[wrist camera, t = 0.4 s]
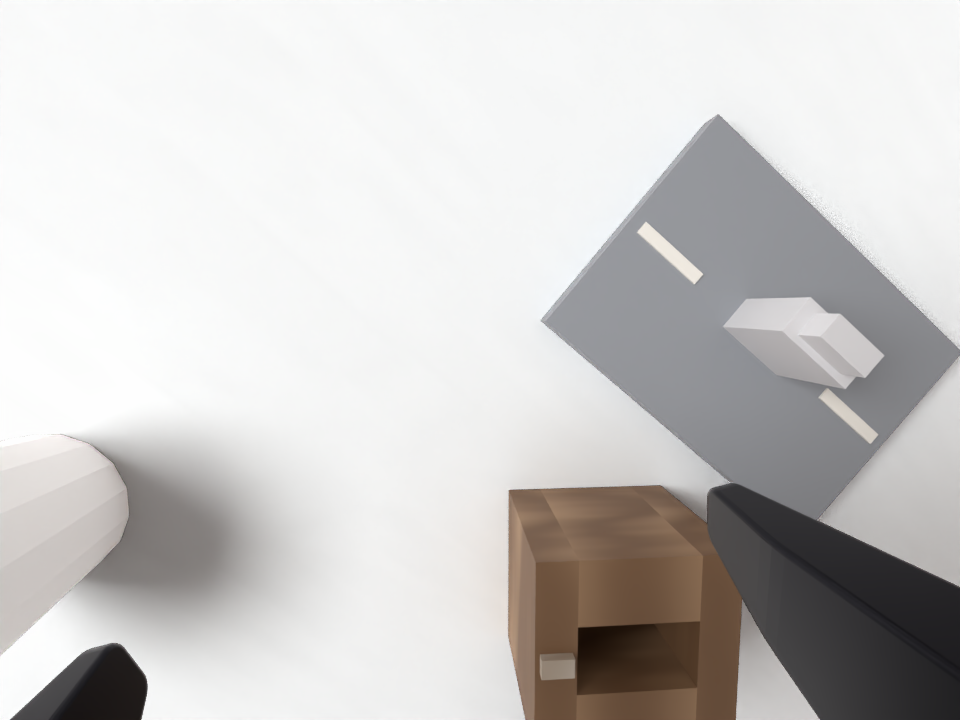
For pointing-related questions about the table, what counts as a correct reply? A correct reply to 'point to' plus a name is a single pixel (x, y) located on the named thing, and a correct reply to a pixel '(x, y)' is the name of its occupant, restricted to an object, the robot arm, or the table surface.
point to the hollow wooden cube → (619, 607)
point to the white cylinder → (52, 523)
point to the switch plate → (752, 326)
